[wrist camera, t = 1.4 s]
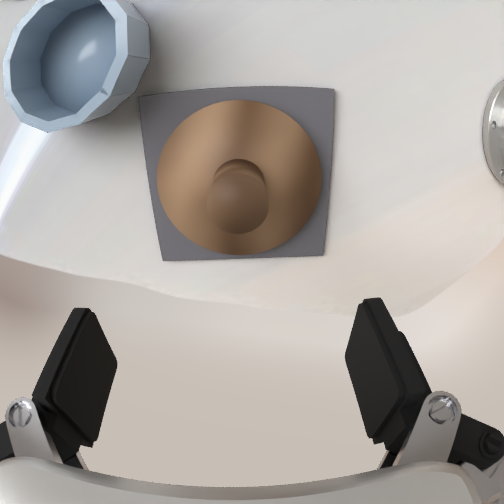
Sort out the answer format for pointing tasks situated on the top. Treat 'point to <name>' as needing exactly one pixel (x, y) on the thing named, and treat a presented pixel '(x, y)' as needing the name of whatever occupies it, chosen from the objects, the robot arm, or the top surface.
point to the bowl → (74, 61)
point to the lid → (239, 177)
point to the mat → (281, 97)
